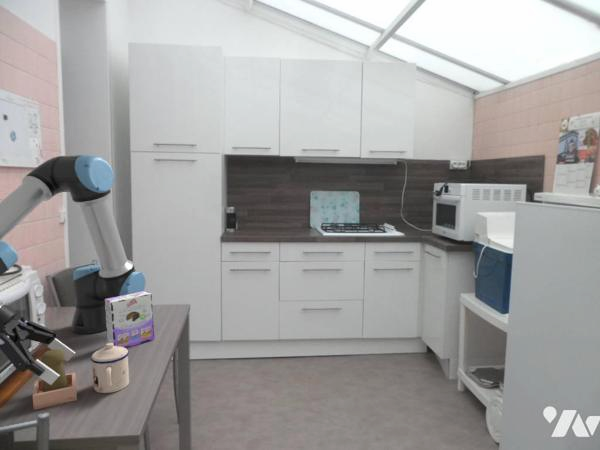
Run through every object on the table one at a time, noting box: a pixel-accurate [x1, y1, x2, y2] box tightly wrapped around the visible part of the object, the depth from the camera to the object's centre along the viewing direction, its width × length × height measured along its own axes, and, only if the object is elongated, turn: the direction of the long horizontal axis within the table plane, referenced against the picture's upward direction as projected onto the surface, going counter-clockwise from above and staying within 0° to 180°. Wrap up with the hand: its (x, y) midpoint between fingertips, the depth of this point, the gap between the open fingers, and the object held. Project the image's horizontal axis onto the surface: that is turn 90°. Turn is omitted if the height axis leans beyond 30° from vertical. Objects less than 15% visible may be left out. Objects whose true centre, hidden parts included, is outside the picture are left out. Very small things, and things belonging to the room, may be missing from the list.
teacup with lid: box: [90, 342, 130, 394], centre depth 112 cm, size 12×9×12 cm
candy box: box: [105, 290, 155, 349], centre depth 142 cm, size 14×6×16 cm, turn 134°
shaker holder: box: [32, 372, 78, 411], centre depth 109 cm, size 9×9×4 cm
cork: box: [40, 349, 68, 393], centre depth 108 cm, size 6×6×11 cm
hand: (64, 367), depth 108 cm, fingers open, 13 cm apart
